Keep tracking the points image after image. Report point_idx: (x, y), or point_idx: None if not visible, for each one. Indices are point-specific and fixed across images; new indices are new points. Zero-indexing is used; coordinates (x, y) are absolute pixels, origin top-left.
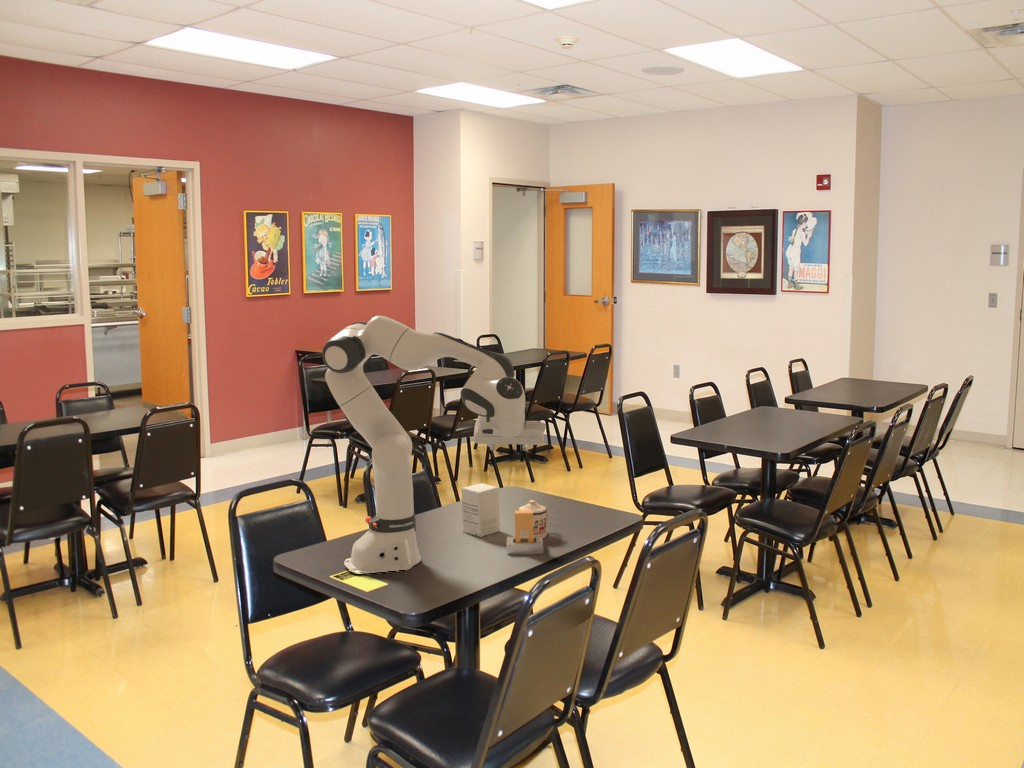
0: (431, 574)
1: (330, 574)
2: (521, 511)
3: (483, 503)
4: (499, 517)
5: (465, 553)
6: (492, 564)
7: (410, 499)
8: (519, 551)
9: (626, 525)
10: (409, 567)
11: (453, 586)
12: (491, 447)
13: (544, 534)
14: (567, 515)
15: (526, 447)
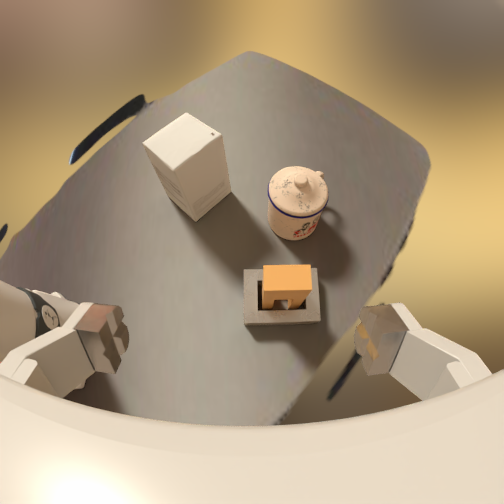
0: None
1: None
2: (281, 273)
3: (189, 180)
4: (228, 176)
5: (165, 312)
6: (217, 381)
7: (6, 342)
8: (270, 324)
9: (425, 182)
10: (82, 385)
11: None
12: (89, 370)
13: (315, 227)
14: (337, 130)
15: (400, 378)
